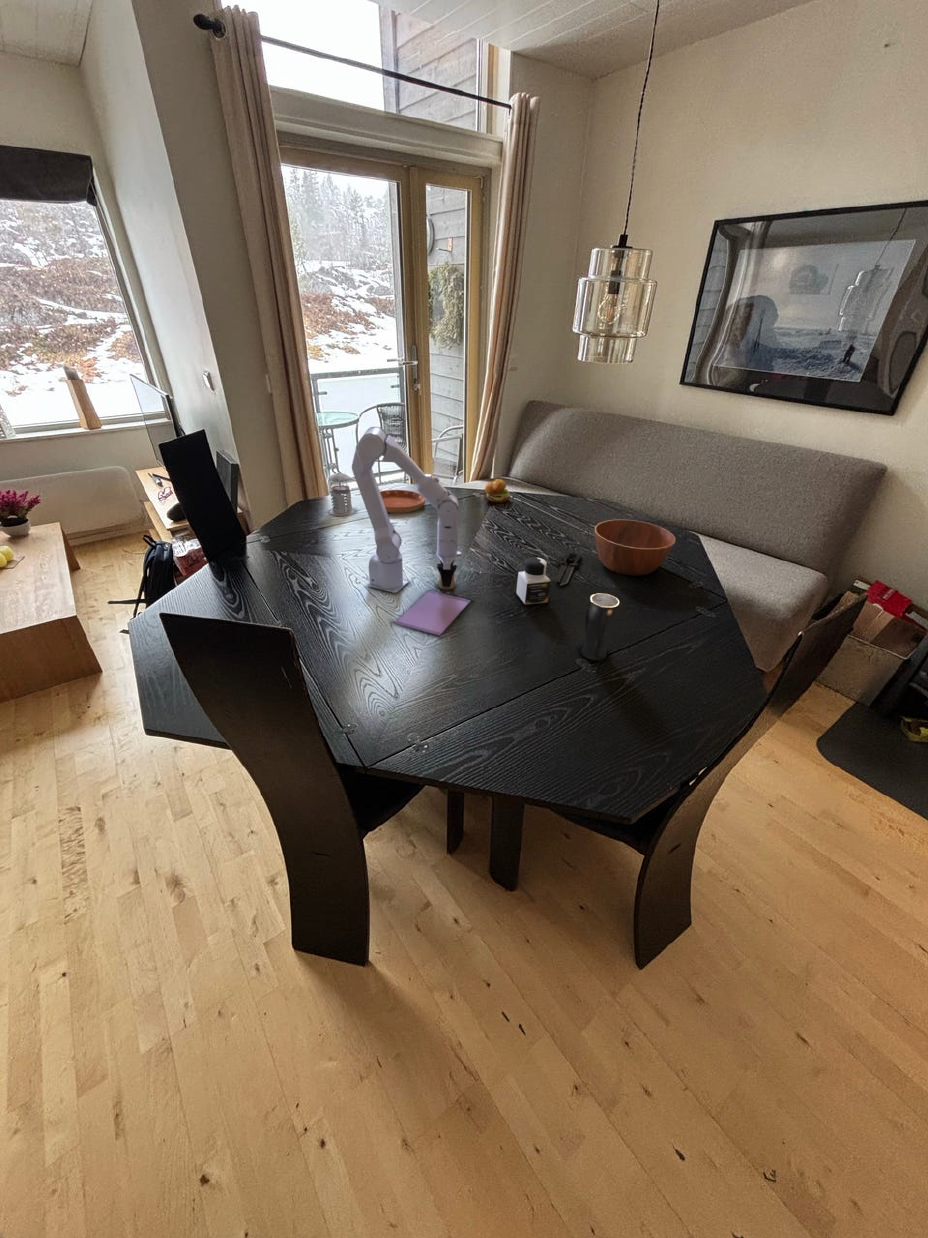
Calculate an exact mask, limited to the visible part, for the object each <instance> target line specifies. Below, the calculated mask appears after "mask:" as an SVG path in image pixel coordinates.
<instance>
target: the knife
mask: <svg viewBox="0 0 928 1238" xmlns="http://www.w3.org/2000/svg"><path fill="white" fill-rule="evenodd" d="M580 560H581V554H580V553H577V552H574V551H568V552H566V553H565V554H564V555H563V559H562V560H558V566H560V567H559V569H558V572H557V574H556V576H555V578H554V580H556V581H557V582H558V583H559V586H563V585H566V584H568V583H569V580H570V578H571V576H572V574H573V571H574V569H579V563H580ZM569 562H571V563H569ZM568 563H569V565H568Z"/></svg>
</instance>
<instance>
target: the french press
mask: <svg viewBox="0 0 928 1238" xmlns="http://www.w3.org/2000/svg"><path fill="white" fill-rule="evenodd" d="M339 451H340V449H339V447H334V448H333V452H335V453H336V454H335V455H336V456H338V452H339ZM336 465H337V466H339V460H338V458H336ZM327 478H328V480H329V481H331V482H335V483H337V482H338V484H337V485H333V486H331V487H330V492H329V493H330V501H331V510H330V511H329V513H330V515H332V516H336V517H346V516H350V515H353V514H355V512H356V511H355V509H354V508H353V507H352V506H353V505H352V504H353V503H352V494H351V493H352V492H351V489H350V486H349V485H348V483H345V485H344V484H343V483H342V482H347V481H348V480H349V479H350V476H349V475H348V474H346V473H343V472H340V471H339V468H337V473H333V474H330V475H329V476H328V477H327ZM341 483H342V484H341Z"/></svg>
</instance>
